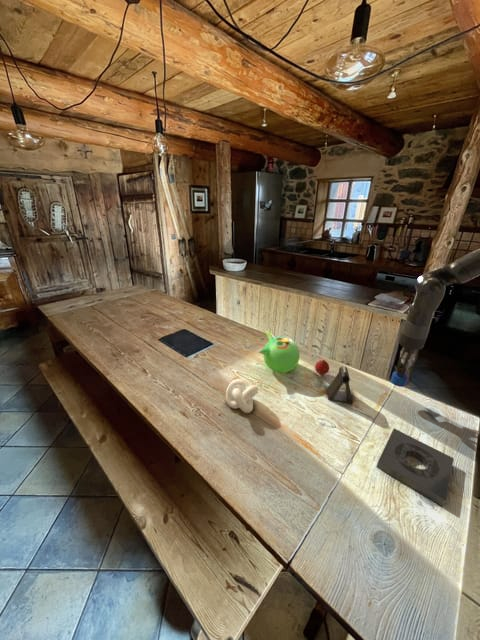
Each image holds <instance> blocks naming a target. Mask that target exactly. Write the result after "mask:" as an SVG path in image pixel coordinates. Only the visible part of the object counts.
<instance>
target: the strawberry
mask: <svg viewBox="0 0 480 640" xmlns="http://www.w3.org/2000/svg"><path fill="white" fill-rule="evenodd" d="M314 369H315V371H316V373H317V374H319V375H320V376H323V375H326V374H328V372H329V371H330V365H329V363H328V362H327V361H326V359H320V360H318V361H317V362H316V363H315V365H314Z"/></svg>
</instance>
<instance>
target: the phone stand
mask: <svg viewBox="0 0 480 640" xmlns="http://www.w3.org/2000/svg"><path fill="white" fill-rule="evenodd" d="M344 369H345V371H344ZM350 381H351V377H350V374H349V370H348V367H346V366H340V367H339V369H338V373H337V374H336V376H335V377H334V378H333V380H332V381H331V383H330V384H329V385H328V387H327V388H326V392H327V393H326V394H327V400H328V401H334V402H341V403H347V404H354V401H353V397H352V391H351V388H350ZM343 384H344V390H340V389H341V388H342V386H343Z"/></svg>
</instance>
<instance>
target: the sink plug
mask: <svg viewBox="0 0 480 640" xmlns="http://www.w3.org/2000/svg"><path fill="white" fill-rule="evenodd" d="M397 371H398V370H395V371H393V372H392V375H391V378H390V383H391V384H392V385H394V386H396V387H400V388H402V387H405V386H406V383H407V381H408V378H409V376H408V375H407V374H406V373H405V374H404V376H403V377H400V376H397V375H396V374H397Z"/></svg>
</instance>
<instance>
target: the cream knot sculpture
mask: <svg viewBox="0 0 480 640" xmlns="http://www.w3.org/2000/svg"><path fill="white" fill-rule="evenodd" d="M258 393H259V386H257V385H256V384H252V385H250V386H248V384H247V382H245V380H243V379H240V378H239V379H238V378H237V379H234V380H232V381H231V382H230V383H229V384H228V386H227V388H226V391H225V400H226V403H227V405H228V406H229V408H231V409H240V410H241V411H242V412H243V413H246V414H250V413H251V412H252V411H253V408H254V403H253V402H254V401H253V397H254V396H255V395H256V394H258Z"/></svg>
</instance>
